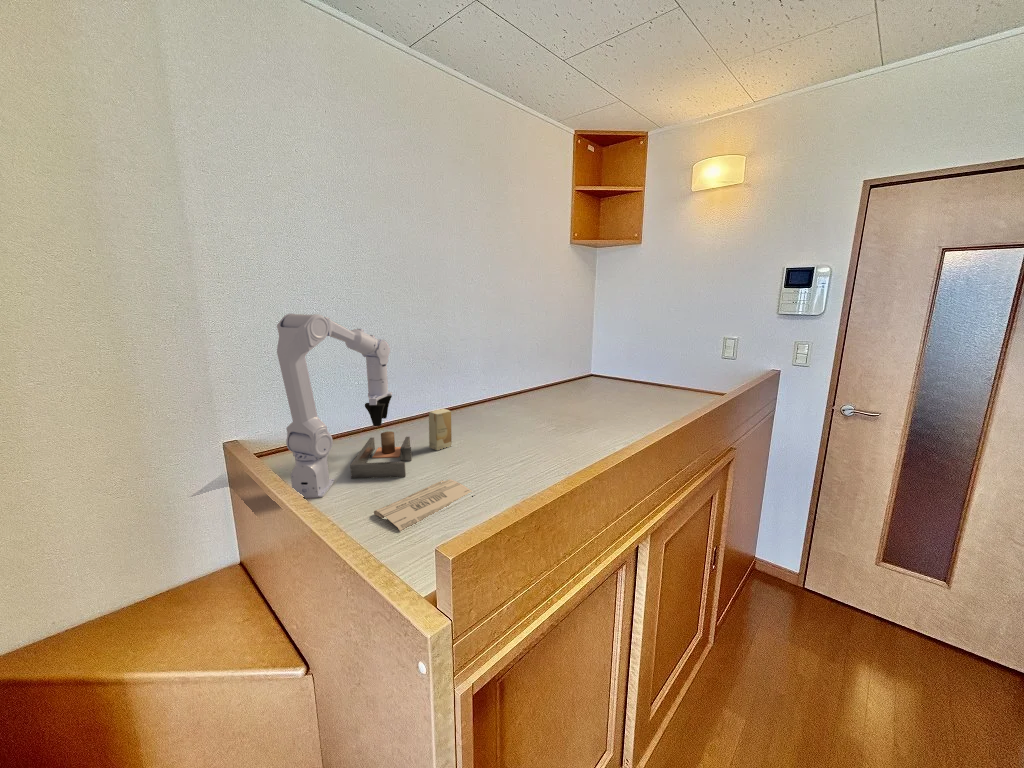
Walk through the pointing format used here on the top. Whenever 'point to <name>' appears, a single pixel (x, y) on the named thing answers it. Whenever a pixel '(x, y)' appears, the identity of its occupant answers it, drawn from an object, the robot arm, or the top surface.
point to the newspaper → (422, 503)
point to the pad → (380, 455)
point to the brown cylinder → (387, 442)
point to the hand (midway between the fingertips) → (380, 421)
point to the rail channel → (379, 463)
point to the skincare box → (440, 429)
